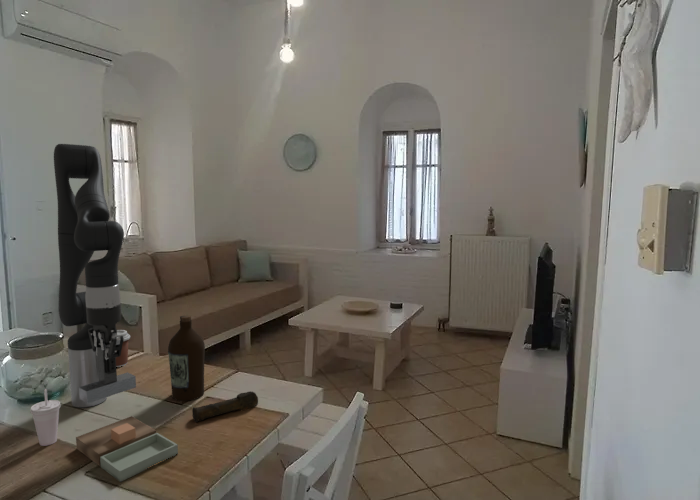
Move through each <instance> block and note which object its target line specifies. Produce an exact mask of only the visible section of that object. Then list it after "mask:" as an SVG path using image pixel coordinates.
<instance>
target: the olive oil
mask: <svg viewBox="0 0 700 500" xmlns="http://www.w3.org/2000/svg"><path fill="white" fill-rule="evenodd" d="M179 320H180V321H179V329H178V331H177V332H175V334H174V335H173V336H172V337H171V338H170V340H169V343H168V347H167V354H168V361H169V371H170V372H169V374H170V384H171V397H172V399H174V400H175V401H181V402H187V401H189V402H190V401H194V400H196V399H199V398H202V396H203V395H204V394H205V354H206V352H205V351H206V348H205V347H206V346H205V341H204V339H203V337H202V336H201V334H199V332H197V331H196V330H195V329H194V328H193V327H192V325H193V324H192V315H189V314H184V315H183V314H182V315H180V316H179Z"/></svg>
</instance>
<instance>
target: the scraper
mask: <svg viewBox="0 0 700 500" xmlns="http://www.w3.org/2000/svg"><path fill="white" fill-rule="evenodd" d="M105 346H110V344H109V345H105ZM108 353H109V350H108ZM97 357H98V373H99V381H97V382H94V383H91V384H88V385H84V386H81V387H79V395H80V399H81V400H82V401H84V402H86V403H90V402H93V401H96V400H99V399H102V398H105V397H107V398H108V397H111V396H114V395H118V394H121V393H123V392H126V391H129V390H131V389H136V388H137V380H136V375H134V374H132V373H130V372H128V371H127V372H124V373H120V374H117V370H116V372H114V373H111V374H107V373H106V368H105V355H104V351H103V350H102V349H101V346H99V347H97ZM115 362H116V358H115Z"/></svg>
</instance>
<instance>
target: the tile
mask: <svg viewBox="0 0 700 500" xmlns="http://www.w3.org/2000/svg"><path fill="white" fill-rule="evenodd" d="M134 438H136V431H135V427H133V426H131V425H130V424H128V423H126V424H123V425H120V426H118V427H115V428H113V429H111V439H112V440H114V441H115V442H117V443H118V444H122V443H124V442H126V441H129V440H131V439H134Z"/></svg>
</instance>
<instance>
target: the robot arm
mask: <svg viewBox="0 0 700 500" xmlns="http://www.w3.org/2000/svg"><path fill="white" fill-rule="evenodd" d="M53 166H54V167H53V168H54V177H55V187H56V197H57V242H58V243H57V244H58V245H57V246H58V256H59V257H58V258H59V288H58V315H59V319H60V321H61V323H62V324H63V326H65V327H73V326H74V327H75V326H79V325H84V324H85V325H84V326H83V327H82V328H81V329H80V330H79V331H77V332H76V333H74V334H71V335H70V336H69V337H68V338H67V353H68V354H67V355H68V364H69V365H68V366H69V380H70V381H69V382H70V398H71V399H70V400H71V406H73V407H74V408H90V407H94V406H97V405H100V404H102V403H103V402H104V401H106V400H107V399H108V397H105V398H102V399H99V400H96V401H93V402H90V403H86V402H84V401H82V400H81V399H80V395H79V387H81V386H84V385H88V384H91V383H94V382H97V381H99V373H98V357H97V347H99V346H101V349H102V350H103V351H104V355H105V368H106V373H107V374H111V373H114V372H116V371H117V368H116V362H115V358H116V357H119V356H120V355H121V350H122V345H123V340H124V338H123V336H118V335H117V330H118V329H117V327H116V325H117V324H118V323H119V322H120V321H122V303H121V291H120V286H119V273H118V271H119V269H118V268H119V267H118V266H119V259H120V253H121V250H122V247H123V243H124V240H125V239H124V237H125V231H124V229H123V226H122V225H121V224H120V223H119V222H118V221H114V220H110V218H111V217H110V211H109V207H108V204H107V203H108V202H107V200H106V196H105V191H104V190H105V189H104V188H105V185H104V176H103V175H104V174H103V166H102V158H101V155H100V152H99V150H98V149H97V148H96V147H95V146H92V145H84V144H72V143H71V144H69V143H58V144H56V145H55V147H54V151H53ZM70 179H79V180H81V179H82V180H86V181H85V182H84V183H83V184H82V185H81V186H80V187H79V188H78V189H77V192H76V194H74V192H73V190H72V187H71V184H70ZM99 251H102V252H103V251H107V252H106V254H105V255H104V256H103V257H102V258H101V257H100V258H99V259H94V260H91V259H92V257H93V255H94V252H99ZM90 260H91V261H90ZM83 271H84V276H85V277H84V278H85V291H81V292H77V290H78V289H77V288H78V284H79V281H80V280H79V279H80V277H81V275H82V272H83ZM109 344H110V346H105V345H109ZM108 350H109V353H108ZM116 351H117V352H116Z"/></svg>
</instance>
